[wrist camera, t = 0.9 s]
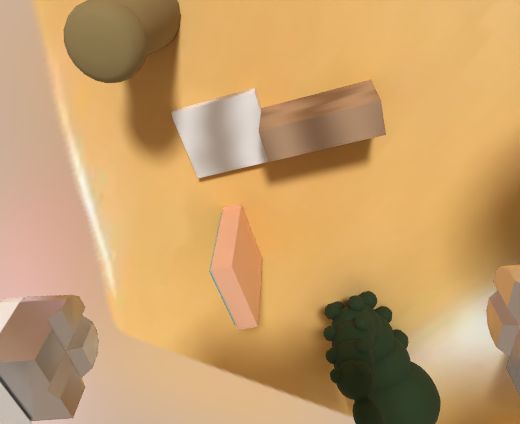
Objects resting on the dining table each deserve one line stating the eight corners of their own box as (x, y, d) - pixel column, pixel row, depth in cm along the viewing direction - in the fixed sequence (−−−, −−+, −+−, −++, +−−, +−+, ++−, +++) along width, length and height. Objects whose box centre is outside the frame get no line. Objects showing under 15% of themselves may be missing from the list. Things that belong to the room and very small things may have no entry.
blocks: (367, 57, 38) (377, 76, 34) (378, 130, 42) (389, 155, 38) (173, 110, 42) (160, 132, 37) (199, 173, 45) (191, 200, 41)
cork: (155, 64, 39) (115, 114, 30) (94, 16, 37) (32, 54, 28) (195, 8, 36) (164, 43, 27) (131, -47, 34) (75, -29, 25)
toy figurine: (302, 278, 55) (379, 401, 65) (299, 415, 39) (402, 551, 49) (375, 251, 52) (443, 384, 62) (404, 388, 36) (491, 538, 46)
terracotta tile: (241, 203, 47) (231, 266, 39) (262, 258, 51) (257, 326, 43) (220, 207, 48) (207, 271, 39) (243, 262, 52) (235, 330, 44)
